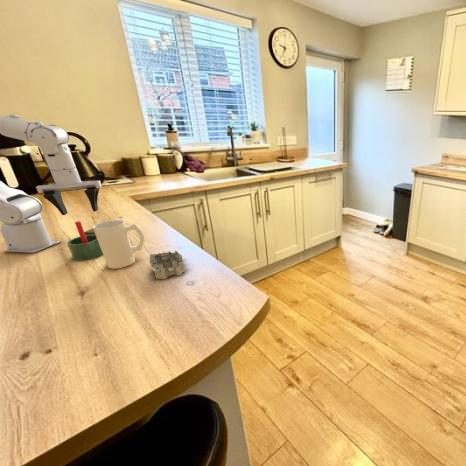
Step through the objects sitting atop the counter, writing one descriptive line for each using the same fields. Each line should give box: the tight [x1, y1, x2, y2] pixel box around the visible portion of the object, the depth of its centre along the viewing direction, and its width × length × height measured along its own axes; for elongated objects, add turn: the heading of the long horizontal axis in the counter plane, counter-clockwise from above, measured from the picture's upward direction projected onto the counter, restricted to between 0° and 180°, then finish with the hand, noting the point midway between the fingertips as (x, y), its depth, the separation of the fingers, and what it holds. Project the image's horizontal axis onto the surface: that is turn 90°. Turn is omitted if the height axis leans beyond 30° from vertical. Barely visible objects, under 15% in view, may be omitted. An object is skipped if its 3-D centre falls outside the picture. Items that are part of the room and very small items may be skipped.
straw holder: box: [84, 228, 96, 235], centre depth 98 cm, size 7×7×3 cm
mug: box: [92, 219, 145, 270], centre depth 80 cm, size 10×7×12 cm, turn 129°
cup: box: [67, 235, 104, 261], centre depth 85 cm, size 7×7×5 cm
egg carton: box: [149, 250, 186, 280], centre depth 78 cm, size 11×8×4 cm
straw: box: [74, 220, 88, 243], centre depth 84 cm, size 1×1×10 cm
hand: (80, 212), depth 90 cm, fingers open, 7 cm apart
